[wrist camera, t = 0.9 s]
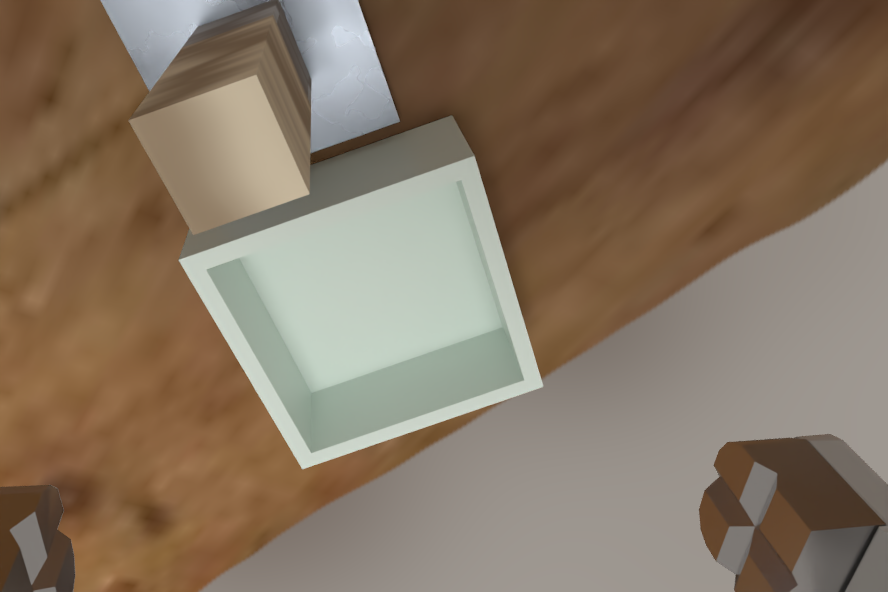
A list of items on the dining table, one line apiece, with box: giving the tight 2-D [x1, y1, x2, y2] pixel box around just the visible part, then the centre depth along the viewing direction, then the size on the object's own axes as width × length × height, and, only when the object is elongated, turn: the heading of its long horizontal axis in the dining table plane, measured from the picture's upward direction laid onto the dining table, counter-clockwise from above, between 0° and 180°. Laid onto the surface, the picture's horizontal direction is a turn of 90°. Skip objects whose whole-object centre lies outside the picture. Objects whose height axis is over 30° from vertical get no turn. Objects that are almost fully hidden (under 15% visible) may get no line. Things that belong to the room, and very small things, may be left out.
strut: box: [128, 0, 312, 235], centre depth 31 cm, size 4×4×16 cm
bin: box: [179, 115, 543, 469], centre depth 44 cm, size 16×16×7 cm
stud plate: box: [101, 0, 400, 153], centre depth 37 cm, size 12×12×5 cm
